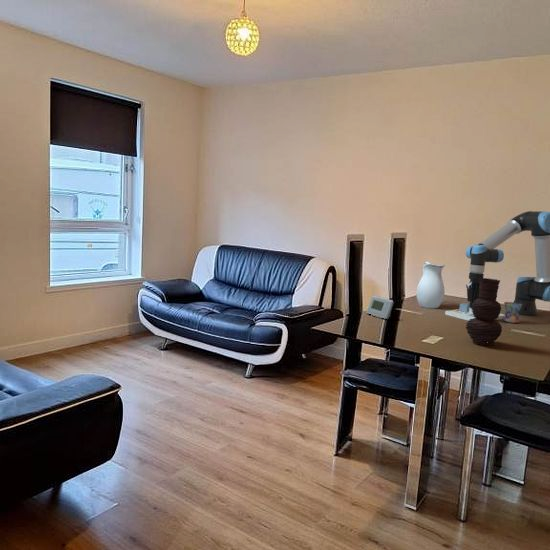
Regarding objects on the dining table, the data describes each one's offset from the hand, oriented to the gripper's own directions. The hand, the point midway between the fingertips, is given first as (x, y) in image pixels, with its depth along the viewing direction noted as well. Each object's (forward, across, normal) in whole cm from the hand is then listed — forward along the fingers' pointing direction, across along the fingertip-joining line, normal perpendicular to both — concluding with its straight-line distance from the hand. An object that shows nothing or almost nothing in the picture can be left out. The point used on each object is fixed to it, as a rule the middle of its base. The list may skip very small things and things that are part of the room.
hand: (471, 313), depth 278 cm
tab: (+2, -8, -10) cm, 13 cm away
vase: (+4, +42, +36) cm, 55 cm away
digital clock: (+4, +50, -23) cm, 55 cm away
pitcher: (+4, -8, -38) cm, 39 cm away
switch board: (+4, -11, -5) cm, 13 cm away
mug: (+4, -21, +11) cm, 24 cm away
